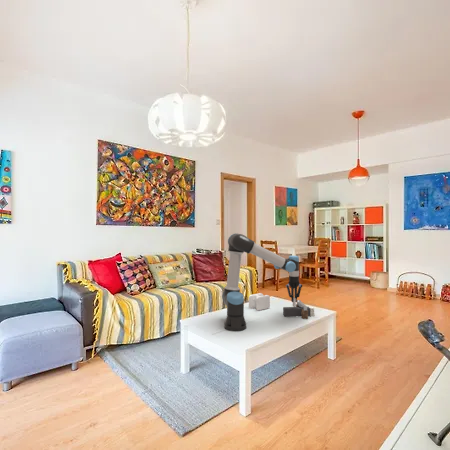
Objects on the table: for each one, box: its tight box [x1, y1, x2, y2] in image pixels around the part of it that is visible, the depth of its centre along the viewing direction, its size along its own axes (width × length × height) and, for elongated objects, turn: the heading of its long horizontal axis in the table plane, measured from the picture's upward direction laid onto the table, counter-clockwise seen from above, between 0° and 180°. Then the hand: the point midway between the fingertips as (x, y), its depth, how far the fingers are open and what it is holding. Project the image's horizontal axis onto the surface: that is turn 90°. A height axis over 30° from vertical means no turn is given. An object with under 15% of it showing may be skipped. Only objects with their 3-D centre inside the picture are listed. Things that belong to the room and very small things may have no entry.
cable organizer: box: [248, 292, 271, 311], centre depth 241 cm, size 15×11×12 cm
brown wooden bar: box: [296, 303, 309, 320], centre depth 222 cm, size 4×17×6 cm, turn 3°
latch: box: [296, 299, 308, 310], centre depth 222 cm, size 3×18×3 cm, turn 3°
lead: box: [282, 306, 315, 318], centre depth 222 cm, size 23×5×6 cm, turn 93°
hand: (294, 306), depth 220 cm, fingers closed
